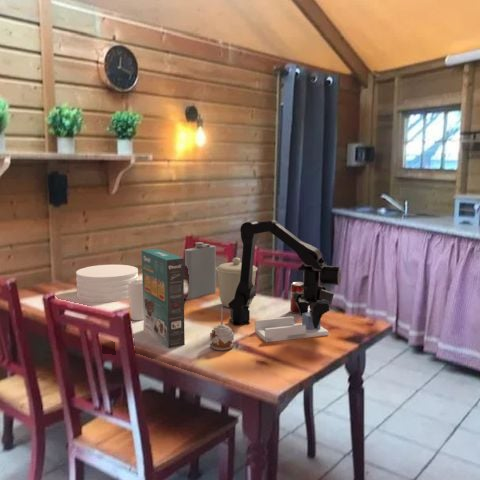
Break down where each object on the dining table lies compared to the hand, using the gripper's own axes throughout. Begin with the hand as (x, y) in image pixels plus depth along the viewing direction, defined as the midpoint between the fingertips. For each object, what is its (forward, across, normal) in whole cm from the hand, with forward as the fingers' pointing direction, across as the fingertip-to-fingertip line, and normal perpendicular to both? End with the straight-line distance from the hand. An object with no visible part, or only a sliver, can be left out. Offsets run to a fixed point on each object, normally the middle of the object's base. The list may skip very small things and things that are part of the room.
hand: (310, 324), depth 189 cm
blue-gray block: (+1, 0, 0) cm, 1 cm away
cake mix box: (+3, +10, +52) cm, 54 cm away
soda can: (+3, +24, -6) cm, 25 cm away
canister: (+3, +41, +16) cm, 44 cm away
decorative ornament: (+3, -6, +36) cm, 36 cm away
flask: (+3, +62, +26) cm, 67 cm away
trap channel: (+3, 0, +7) cm, 8 cm away
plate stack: (+3, +77, +67) cm, 102 cm away
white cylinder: (+3, +34, +58) cm, 68 cm away
